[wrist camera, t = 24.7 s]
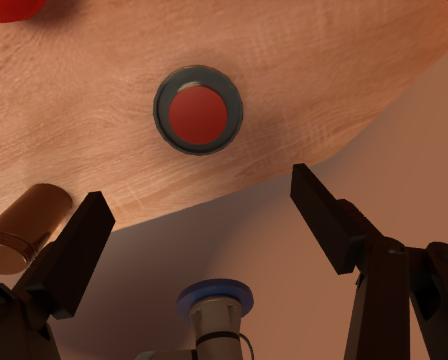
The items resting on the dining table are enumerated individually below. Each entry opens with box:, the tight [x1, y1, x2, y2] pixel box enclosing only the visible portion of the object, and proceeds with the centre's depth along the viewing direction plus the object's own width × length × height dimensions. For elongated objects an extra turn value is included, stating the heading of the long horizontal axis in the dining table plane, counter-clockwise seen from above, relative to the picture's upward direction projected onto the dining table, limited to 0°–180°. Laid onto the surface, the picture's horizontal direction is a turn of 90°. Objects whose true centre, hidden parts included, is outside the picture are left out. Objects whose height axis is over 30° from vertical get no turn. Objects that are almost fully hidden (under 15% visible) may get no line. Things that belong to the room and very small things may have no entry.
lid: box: [169, 84, 227, 144], centre depth 29 cm, size 8×8×2 cm
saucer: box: [153, 65, 243, 156], centre depth 30 cm, size 12×12×2 cm
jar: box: [0, 184, 72, 275], centre depth 31 cm, size 6×6×12 cm
